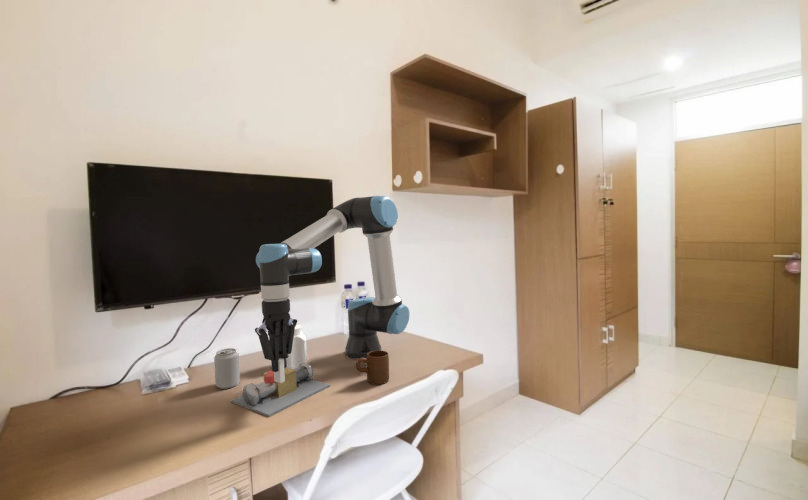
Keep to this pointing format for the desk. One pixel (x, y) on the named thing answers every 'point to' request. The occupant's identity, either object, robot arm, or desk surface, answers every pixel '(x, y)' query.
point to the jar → (297, 349)
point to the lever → (270, 376)
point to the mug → (375, 367)
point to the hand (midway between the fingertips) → (279, 381)
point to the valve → (278, 385)
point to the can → (227, 368)
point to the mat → (284, 398)
